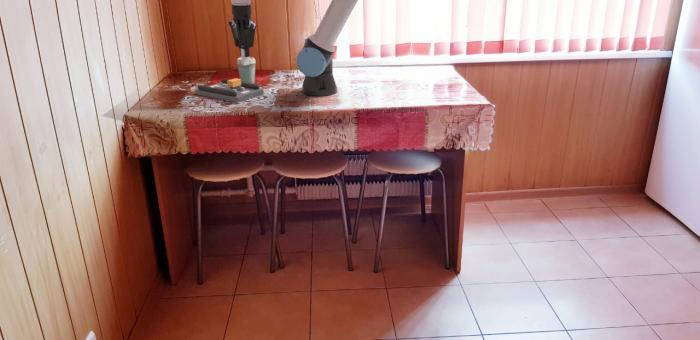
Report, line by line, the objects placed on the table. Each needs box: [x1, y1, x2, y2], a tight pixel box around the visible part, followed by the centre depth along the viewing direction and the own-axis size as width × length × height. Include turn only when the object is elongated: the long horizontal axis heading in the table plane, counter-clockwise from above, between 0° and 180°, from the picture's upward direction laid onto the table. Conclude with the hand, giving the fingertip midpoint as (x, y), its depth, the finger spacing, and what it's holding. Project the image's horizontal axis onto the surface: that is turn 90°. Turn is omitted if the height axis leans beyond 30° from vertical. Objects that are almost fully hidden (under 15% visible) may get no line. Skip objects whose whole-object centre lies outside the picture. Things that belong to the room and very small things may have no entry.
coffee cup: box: [236, 56, 257, 84], centre depth 233 cm, size 8×9×12 cm
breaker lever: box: [227, 77, 241, 90], centre depth 216 cm, size 3×5×4 cm, turn 148°
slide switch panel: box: [195, 81, 264, 103], centre depth 219 cm, size 24×16×3 cm, turn 59°
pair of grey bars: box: [197, 78, 261, 96], centre depth 218 cm, size 21×16×2 cm
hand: (245, 64), depth 209 cm, fingers closed
